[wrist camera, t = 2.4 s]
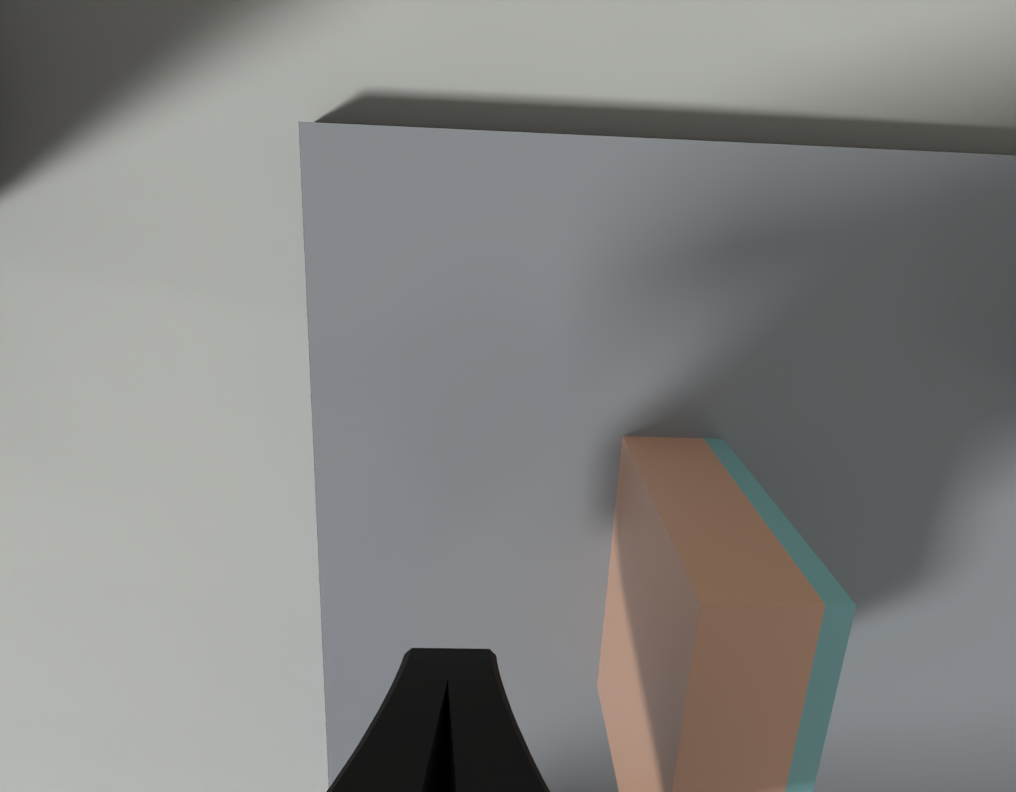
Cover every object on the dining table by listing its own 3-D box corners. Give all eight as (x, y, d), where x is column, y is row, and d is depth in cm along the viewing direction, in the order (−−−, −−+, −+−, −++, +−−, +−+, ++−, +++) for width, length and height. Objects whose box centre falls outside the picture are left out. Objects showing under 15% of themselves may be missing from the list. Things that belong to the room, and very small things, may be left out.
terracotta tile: (685, 687, 17) (778, 939, 11) (597, 686, 16) (649, 939, 11) (723, 438, 15) (856, 604, 9) (622, 435, 14) (700, 601, 9)
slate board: (1043, 776, 19) (1073, 810, 18) (337, 770, 18) (329, 804, 17) (1263, 167, 14) (1319, 169, 13) (311, 123, 13) (298, 121, 12)
